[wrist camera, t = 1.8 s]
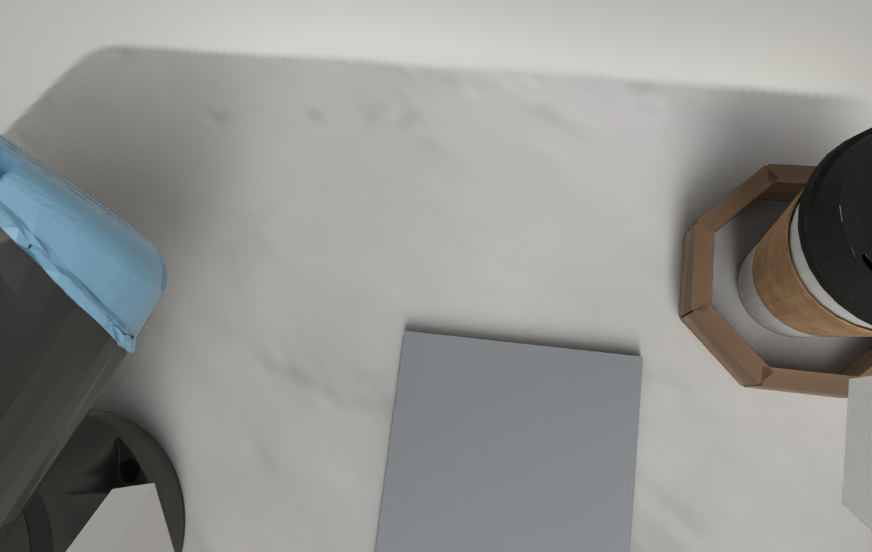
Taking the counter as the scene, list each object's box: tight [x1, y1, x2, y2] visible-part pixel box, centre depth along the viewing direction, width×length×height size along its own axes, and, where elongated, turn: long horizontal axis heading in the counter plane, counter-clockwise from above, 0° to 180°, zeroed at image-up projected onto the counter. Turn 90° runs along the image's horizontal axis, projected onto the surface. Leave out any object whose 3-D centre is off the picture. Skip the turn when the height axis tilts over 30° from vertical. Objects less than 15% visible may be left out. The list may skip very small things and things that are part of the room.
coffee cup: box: [738, 128, 872, 337], centre depth 28 cm, size 8×8×15 cm
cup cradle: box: [679, 164, 872, 398], centre depth 33 cm, size 12×12×3 cm
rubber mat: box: [375, 331, 643, 552], centre depth 35 cm, size 14×14×1 cm
